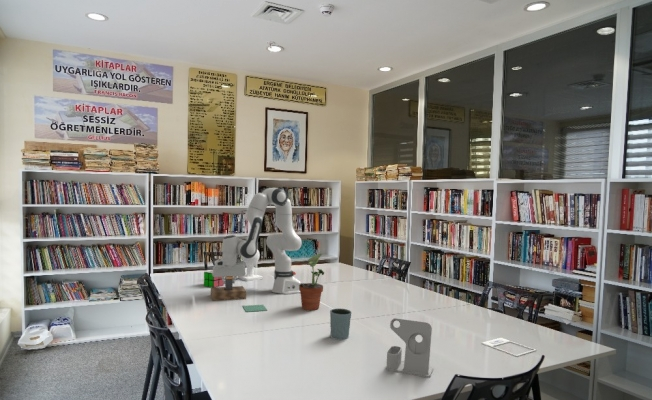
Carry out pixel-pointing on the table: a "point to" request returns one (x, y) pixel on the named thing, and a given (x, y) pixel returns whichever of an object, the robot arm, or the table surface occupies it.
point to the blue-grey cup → (340, 323)
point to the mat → (254, 308)
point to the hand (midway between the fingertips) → (228, 283)
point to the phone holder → (411, 349)
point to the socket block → (228, 293)
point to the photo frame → (502, 341)
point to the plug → (229, 283)
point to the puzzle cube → (212, 280)
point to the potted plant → (311, 288)
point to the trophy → (251, 268)
